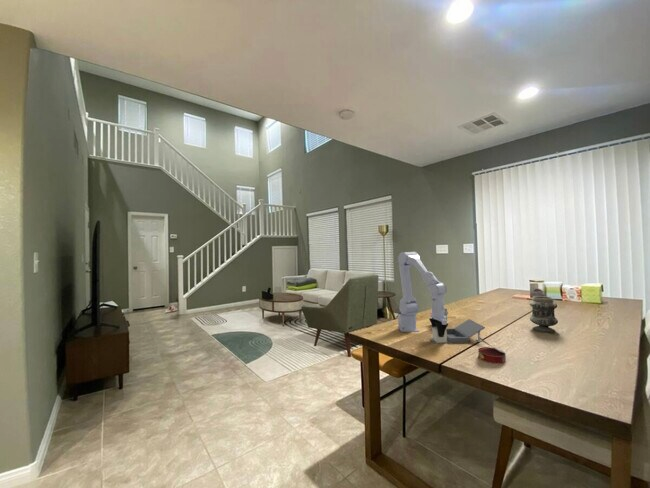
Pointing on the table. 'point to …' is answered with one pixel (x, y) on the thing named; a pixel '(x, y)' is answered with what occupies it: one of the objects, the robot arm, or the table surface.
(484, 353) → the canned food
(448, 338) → the case
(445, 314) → the food container
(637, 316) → the table surface
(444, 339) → the module
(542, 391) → the table surface
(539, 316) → the dark ornate urn
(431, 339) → the pad
